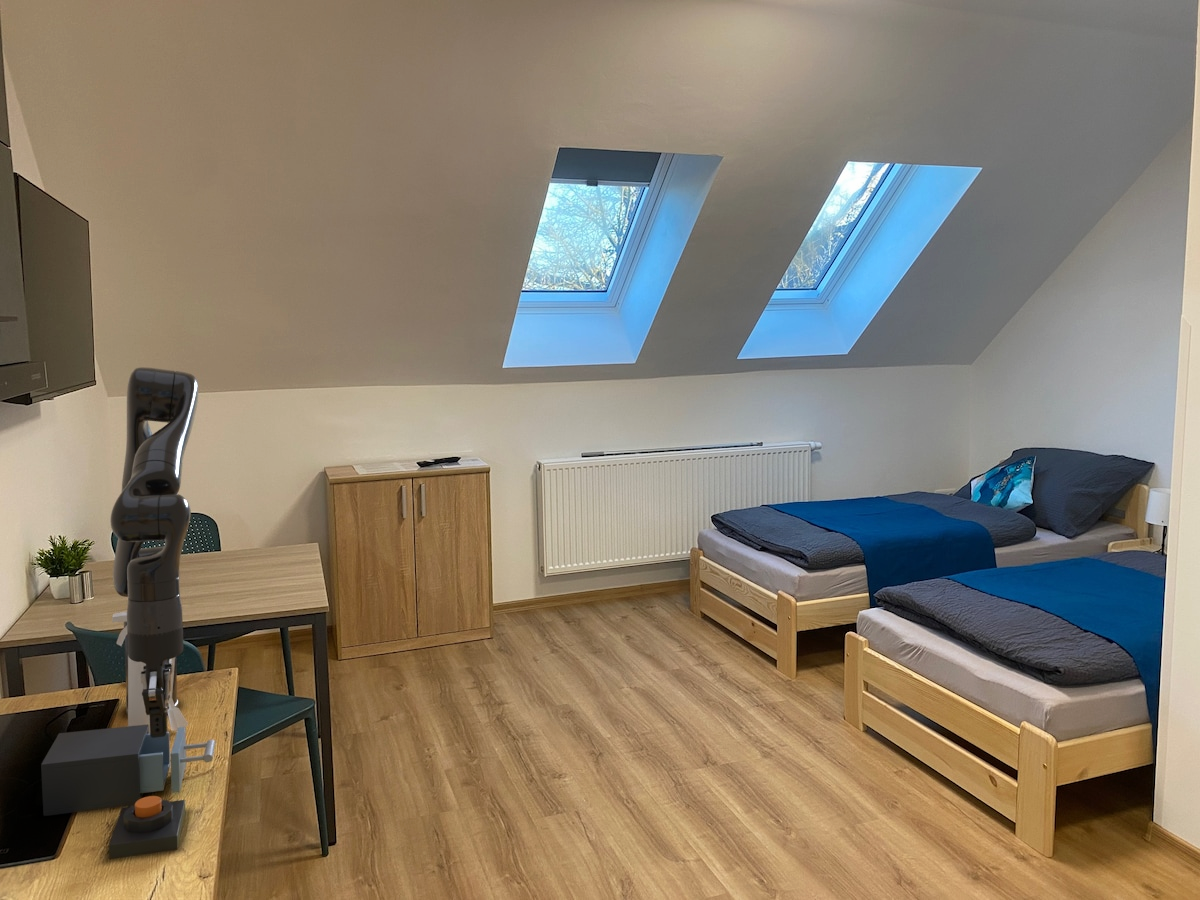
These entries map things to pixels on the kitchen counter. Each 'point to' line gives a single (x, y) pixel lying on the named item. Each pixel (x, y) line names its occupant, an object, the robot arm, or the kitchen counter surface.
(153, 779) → the drawer
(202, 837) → the kitchen counter surface
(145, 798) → the button
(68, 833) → the kitchen counter surface
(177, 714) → the fire extinguisher
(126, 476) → the robot arm
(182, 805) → the control block
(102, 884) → the kitchen counter surface
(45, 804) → the drawer housing
